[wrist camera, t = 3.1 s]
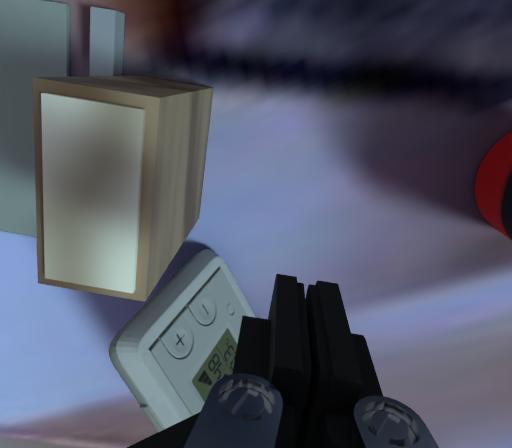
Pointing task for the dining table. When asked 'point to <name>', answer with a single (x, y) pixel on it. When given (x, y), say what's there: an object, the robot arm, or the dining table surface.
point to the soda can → (496, 186)
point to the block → (116, 178)
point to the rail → (106, 42)
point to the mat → (25, 98)
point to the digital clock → (182, 340)
